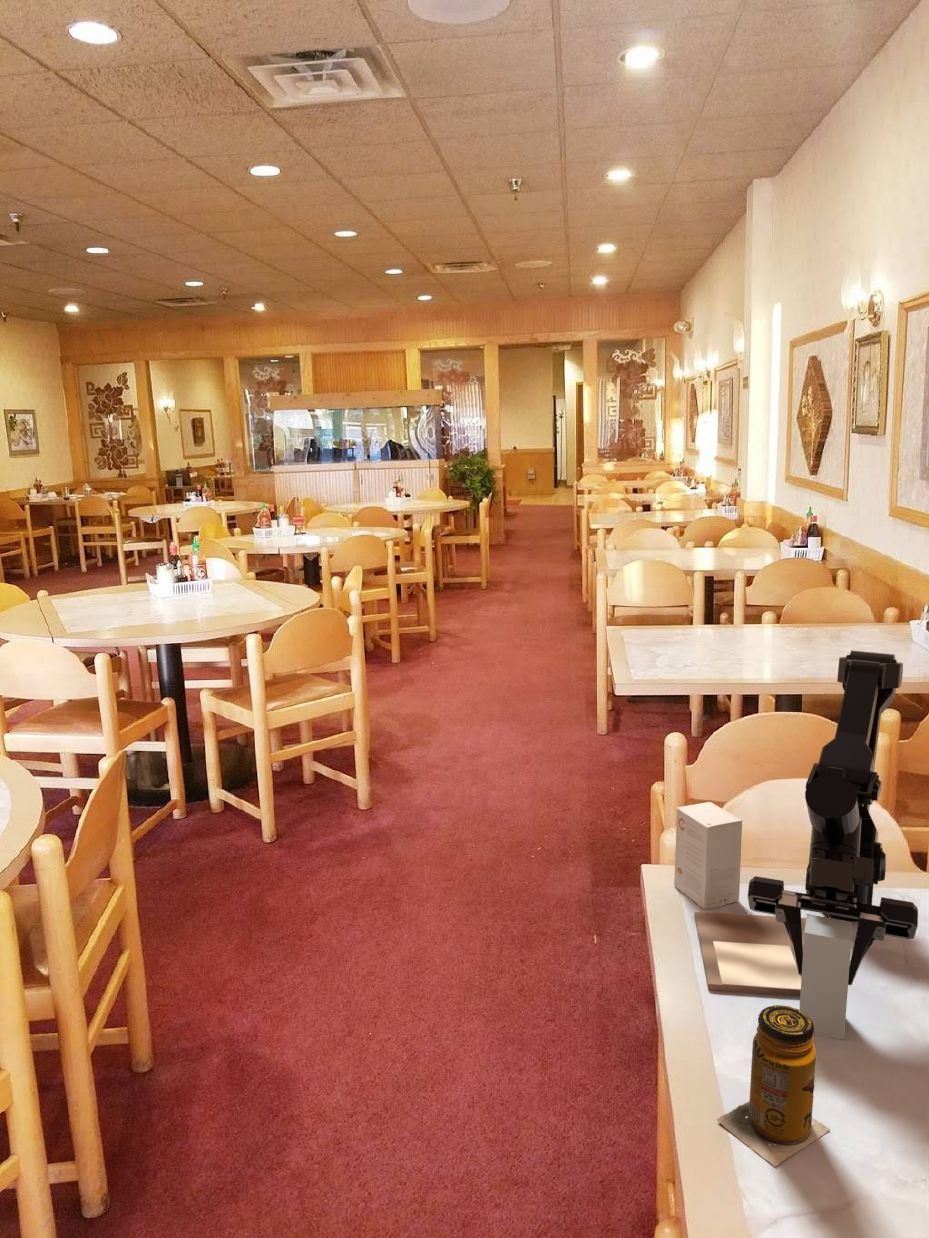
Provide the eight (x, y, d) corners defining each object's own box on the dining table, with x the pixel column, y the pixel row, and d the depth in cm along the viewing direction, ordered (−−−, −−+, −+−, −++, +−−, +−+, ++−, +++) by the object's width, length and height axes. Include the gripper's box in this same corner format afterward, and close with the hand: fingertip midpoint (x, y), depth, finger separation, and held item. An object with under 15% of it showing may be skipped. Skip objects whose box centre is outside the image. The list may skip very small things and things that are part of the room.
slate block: (800, 1007, 114) (806, 913, 111) (845, 1017, 112) (852, 921, 109) (798, 1029, 110) (804, 932, 107) (844, 1039, 108) (851, 941, 105)
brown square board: (694, 916, 135) (694, 911, 135) (809, 923, 133) (810, 917, 132) (708, 989, 118) (708, 983, 117) (841, 998, 115) (841, 992, 115)
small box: (739, 902, 139) (743, 820, 136) (704, 910, 137) (707, 827, 134) (707, 878, 146) (710, 800, 144) (672, 885, 144) (675, 806, 142)
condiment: (830, 1131, 94) (837, 1024, 91) (774, 1168, 89) (781, 1057, 87) (770, 1089, 100) (776, 988, 97) (716, 1122, 95) (720, 1017, 93)
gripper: (753, 814, 113) (737, 943, 105) (924, 838, 106) (920, 978, 98) (757, 848, 122) (742, 969, 114) (915, 872, 115) (911, 1003, 107)
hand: (824, 979), depth 108 cm, fingers closed on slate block, 5 cm apart
